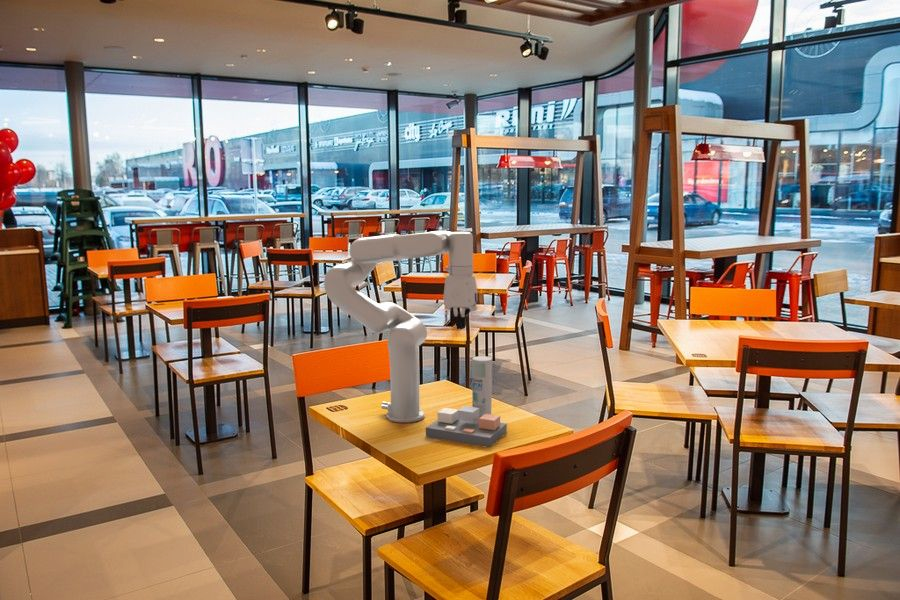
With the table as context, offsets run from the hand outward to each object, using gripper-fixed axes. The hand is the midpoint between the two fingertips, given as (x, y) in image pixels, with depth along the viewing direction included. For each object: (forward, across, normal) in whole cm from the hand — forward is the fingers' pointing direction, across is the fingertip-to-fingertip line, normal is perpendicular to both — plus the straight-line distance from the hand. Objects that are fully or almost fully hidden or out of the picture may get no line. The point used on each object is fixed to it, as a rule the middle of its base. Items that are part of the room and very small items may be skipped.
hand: (460, 328), depth 219 cm
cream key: (+28, -1, -9) cm, 29 cm away
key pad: (+31, +6, -10) cm, 33 cm away
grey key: (+26, +6, -9) cm, 28 cm away
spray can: (+31, +4, +8) cm, 33 cm away
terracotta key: (+28, +14, -9) cm, 32 cm away
